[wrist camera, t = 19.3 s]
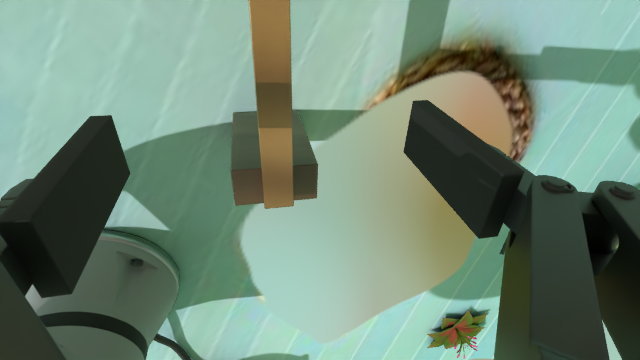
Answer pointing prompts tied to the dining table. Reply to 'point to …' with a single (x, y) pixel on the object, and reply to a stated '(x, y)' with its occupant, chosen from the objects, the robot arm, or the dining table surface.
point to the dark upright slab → (249, 160)
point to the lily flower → (458, 332)
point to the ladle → (273, 97)
